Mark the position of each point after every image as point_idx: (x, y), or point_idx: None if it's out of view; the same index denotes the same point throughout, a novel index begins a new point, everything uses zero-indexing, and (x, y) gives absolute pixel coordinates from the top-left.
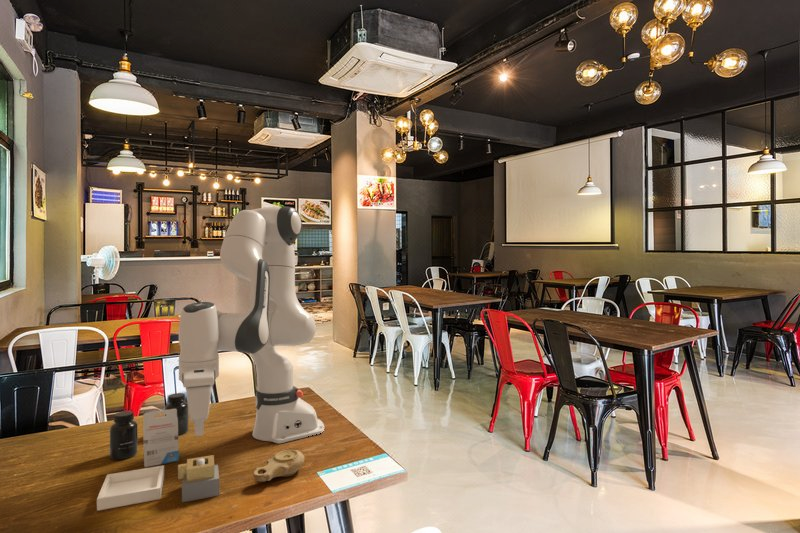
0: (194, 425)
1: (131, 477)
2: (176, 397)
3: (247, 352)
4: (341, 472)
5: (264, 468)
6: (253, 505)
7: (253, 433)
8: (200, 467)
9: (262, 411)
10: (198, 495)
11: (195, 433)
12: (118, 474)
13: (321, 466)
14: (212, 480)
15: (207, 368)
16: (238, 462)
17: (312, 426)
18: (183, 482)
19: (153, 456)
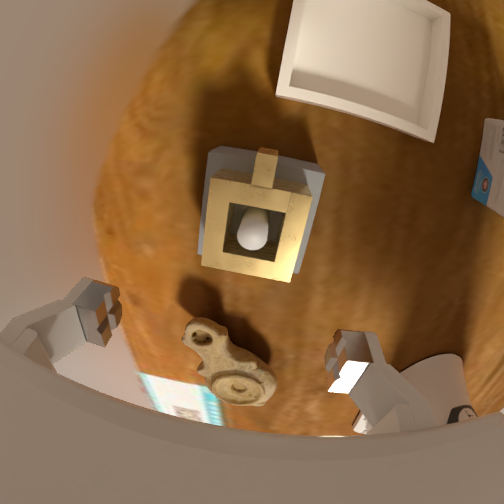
0: (32, 310)
1: (431, 60)
2: None
3: None
4: (195, 402)
5: (209, 346)
6: (135, 278)
7: (446, 359)
8: (205, 223)
9: (438, 413)
10: None
11: (77, 284)
12: (441, 31)
13: None
14: (200, 236)
15: None
16: (360, 310)
17: (368, 429)
18: (226, 158)
19: (496, 141)
